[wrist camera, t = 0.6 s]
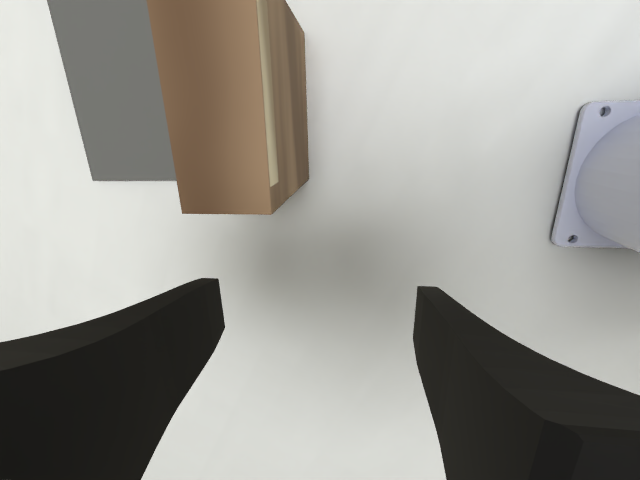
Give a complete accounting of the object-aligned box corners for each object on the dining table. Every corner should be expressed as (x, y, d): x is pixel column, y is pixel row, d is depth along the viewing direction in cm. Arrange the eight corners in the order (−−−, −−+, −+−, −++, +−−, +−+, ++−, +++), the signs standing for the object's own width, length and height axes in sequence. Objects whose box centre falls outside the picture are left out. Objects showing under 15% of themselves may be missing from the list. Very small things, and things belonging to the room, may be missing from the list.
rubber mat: (212, -50, 17) (209, -55, 16) (236, 179, 21) (234, 180, 20) (44, -34, 18) (37, -38, 18) (97, 179, 22) (92, 180, 22)
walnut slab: (304, 32, 18) (251, -57, 9) (309, 178, 20) (271, 214, 12) (243, 36, 18) (138, -46, 10) (255, 179, 21) (182, 213, 12)
